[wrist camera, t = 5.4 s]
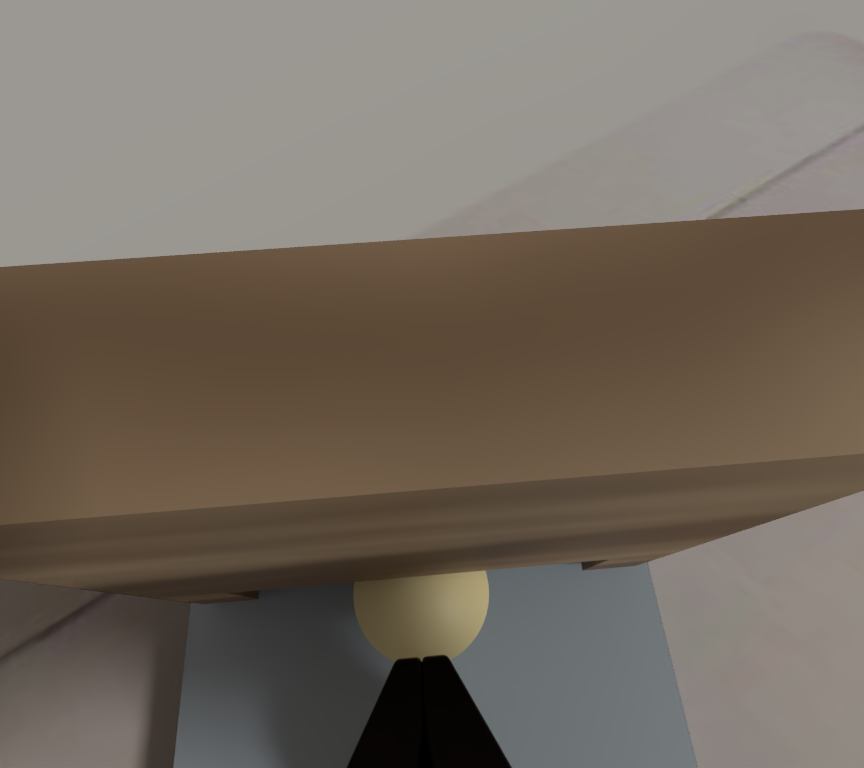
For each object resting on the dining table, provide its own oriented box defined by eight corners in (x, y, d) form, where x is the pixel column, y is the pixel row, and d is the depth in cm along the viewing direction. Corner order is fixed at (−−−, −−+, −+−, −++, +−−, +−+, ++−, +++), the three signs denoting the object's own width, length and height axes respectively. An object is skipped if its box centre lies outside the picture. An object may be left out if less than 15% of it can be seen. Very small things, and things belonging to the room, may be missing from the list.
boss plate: (712, 926, 13) (945, 1172, 7) (176, 986, 13) (-51, 1299, 7) (597, 430, 18) (674, 335, 13) (223, 460, 18) (122, 376, 12)
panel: (635, 565, 15) (1011, 441, 5) (202, 604, 14) (-264, 546, 5) (610, 462, 16) (877, 207, 6) (213, 495, 16) (-139, 276, 6)
